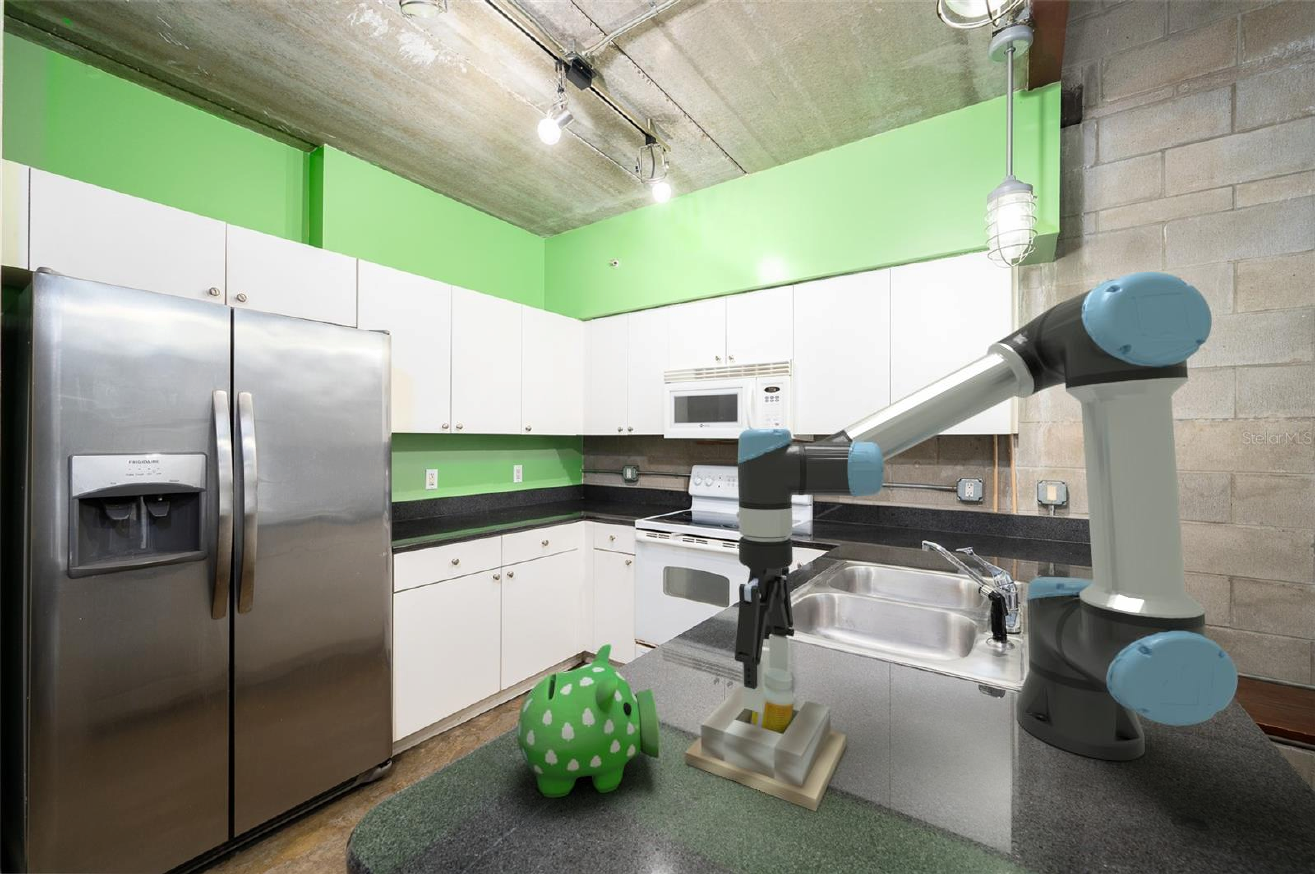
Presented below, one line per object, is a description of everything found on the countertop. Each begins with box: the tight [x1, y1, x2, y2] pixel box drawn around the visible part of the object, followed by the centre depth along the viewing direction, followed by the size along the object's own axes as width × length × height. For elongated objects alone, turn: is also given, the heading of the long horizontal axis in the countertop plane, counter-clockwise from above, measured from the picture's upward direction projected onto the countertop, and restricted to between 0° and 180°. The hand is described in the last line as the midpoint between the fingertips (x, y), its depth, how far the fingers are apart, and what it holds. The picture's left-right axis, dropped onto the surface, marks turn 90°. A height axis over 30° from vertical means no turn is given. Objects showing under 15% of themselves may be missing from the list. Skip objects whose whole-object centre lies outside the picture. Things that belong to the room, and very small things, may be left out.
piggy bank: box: [517, 643, 660, 798], centre depth 70 cm, size 14×18×15 cm
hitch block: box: [684, 683, 847, 812], centre depth 74 cm, size 18×16×6 cm
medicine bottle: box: [761, 615, 791, 675], centre depth 97 cm, size 7×7×12 cm
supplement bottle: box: [751, 668, 795, 734], centre depth 74 cm, size 5×5×10 cm
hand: (767, 693), depth 74 cm, fingers open, 9 cm apart
